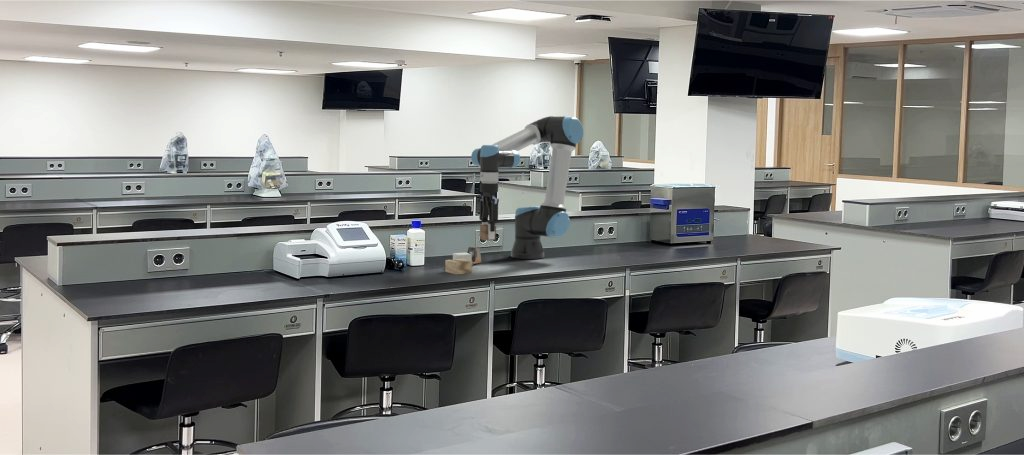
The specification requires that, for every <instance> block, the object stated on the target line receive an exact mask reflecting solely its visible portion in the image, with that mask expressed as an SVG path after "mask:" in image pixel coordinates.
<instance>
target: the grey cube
mask: <svg viewBox="0 0 1024 455" xmlns="http://www.w3.org/2000/svg"><path fill="white" fill-rule="evenodd" d="M453 259H465V260H470V261H472V254H469V253H467V252H453V253H452V260H453Z"/></svg>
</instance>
